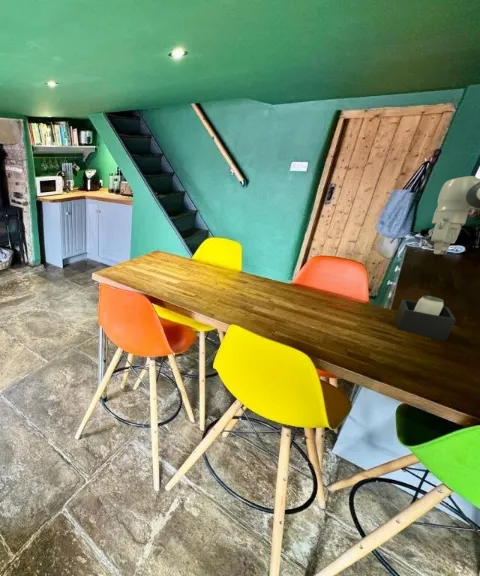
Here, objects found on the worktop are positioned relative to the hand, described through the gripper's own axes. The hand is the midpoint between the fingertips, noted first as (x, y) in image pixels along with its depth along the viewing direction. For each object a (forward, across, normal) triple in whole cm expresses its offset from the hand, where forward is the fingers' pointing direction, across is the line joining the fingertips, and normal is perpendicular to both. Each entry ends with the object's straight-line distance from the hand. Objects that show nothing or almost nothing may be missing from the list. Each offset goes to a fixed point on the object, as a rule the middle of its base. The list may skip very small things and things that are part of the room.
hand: (439, 254), depth 122 cm
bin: (+29, -18, -2) cm, 34 cm away
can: (+28, -18, -2) cm, 33 cm away
